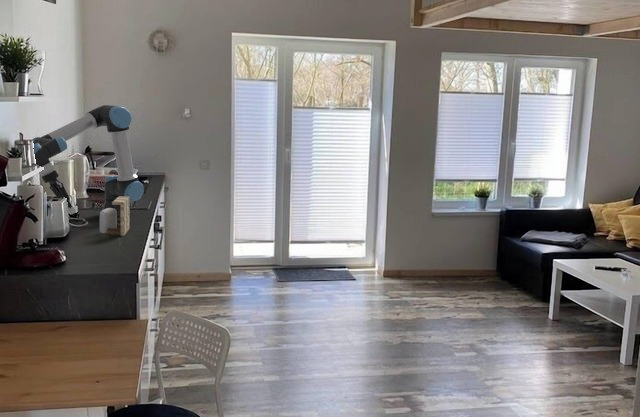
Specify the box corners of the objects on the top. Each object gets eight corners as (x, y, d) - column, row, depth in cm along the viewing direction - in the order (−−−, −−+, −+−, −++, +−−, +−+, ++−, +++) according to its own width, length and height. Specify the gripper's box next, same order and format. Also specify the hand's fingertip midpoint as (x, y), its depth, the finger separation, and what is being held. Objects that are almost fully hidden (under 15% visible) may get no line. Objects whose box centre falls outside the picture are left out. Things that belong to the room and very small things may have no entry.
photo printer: (111, 229, 328) (111, 206, 326) (118, 230, 327) (118, 207, 325) (98, 233, 319) (98, 209, 316) (105, 234, 317) (105, 210, 315)
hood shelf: (113, 228, 332) (112, 196, 329) (129, 228, 333) (129, 196, 330) (106, 235, 314) (106, 202, 311) (123, 235, 315) (123, 202, 312)
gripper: (37, 178, 316) (62, 217, 323) (45, 175, 306) (71, 216, 313) (50, 171, 320) (74, 210, 327) (59, 167, 311) (84, 208, 317)
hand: (73, 213), depth 320 cm, fingers closed
